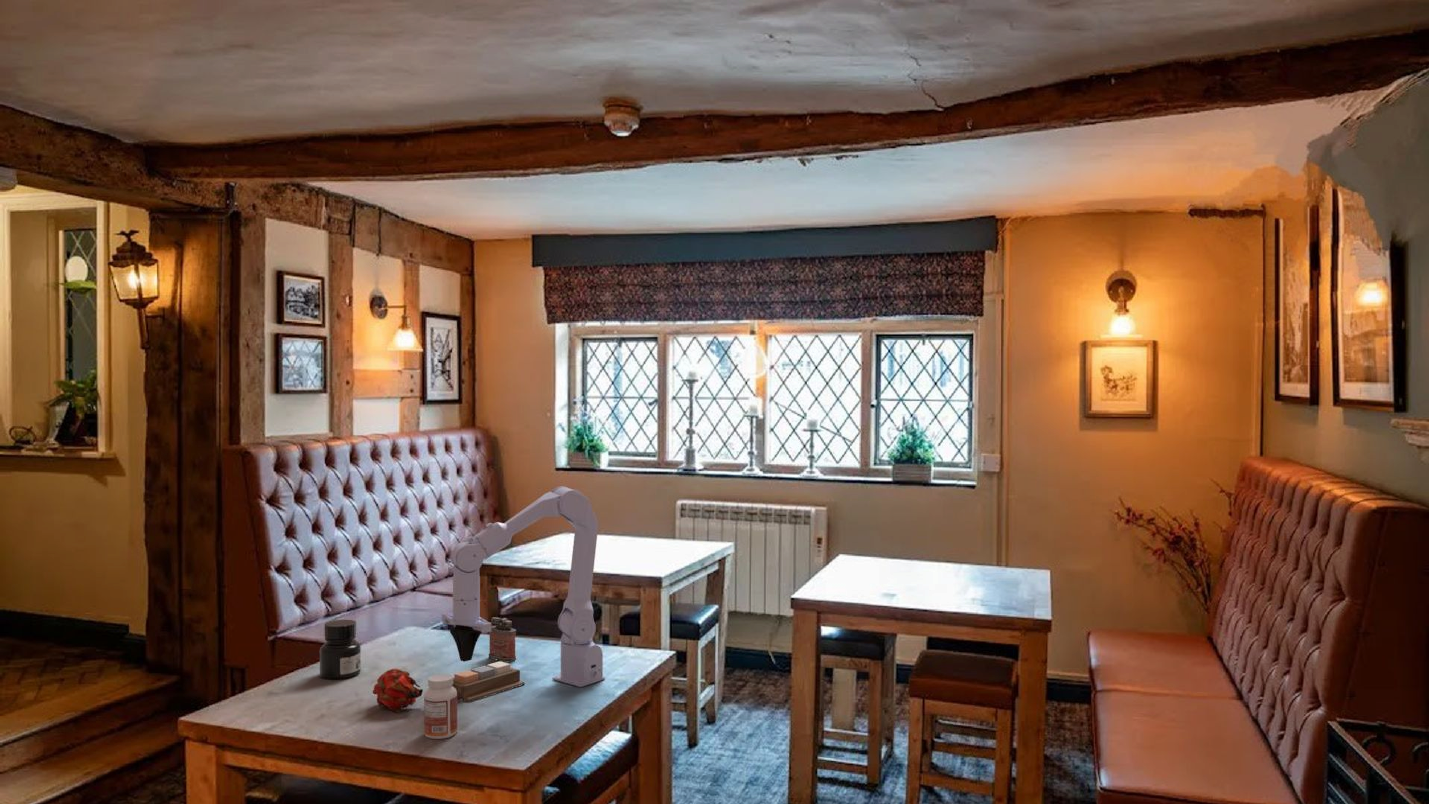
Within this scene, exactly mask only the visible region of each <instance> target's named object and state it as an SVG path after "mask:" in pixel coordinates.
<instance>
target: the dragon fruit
mask: <svg viewBox="0 0 1429 804" xmlns="http://www.w3.org/2000/svg"><path fill="white" fill-rule="evenodd" d="M414 685H415V686H416V687H415V686H414ZM417 687H418V688H417ZM419 688H420V689H419ZM423 690H424V689H423V688H421V687H420V685H419V684H417V680H415V679H414V678H413V677H411V676H410V672H408V671H404V670H401V669H398V668H392V669H389V670H386V671H385V672H384V673H382V674H381V675H380V676H379V677H378V678H377V681H376V683H375V684H374V686H373V690H372V694H373V695H376V702H377V705H378V707H379V708H382V707H385V706H386V707H388V709H390V710H392V711H393V712H404V709H402V707H403V706H404V707H405V706H409V705H410V706H412V707H413V705H414V704H415V703H416V699H417V698H419V697H421V696H422V695H423Z"/></svg>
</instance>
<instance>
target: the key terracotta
mask: <svg viewBox="0 0 1429 804" xmlns="http://www.w3.org/2000/svg"><path fill="white" fill-rule="evenodd" d="M453 678H454V681H455V682H458V683H461V684H465V685H466V684H469V683H473V682H476V681H478V673H475V672H472V671H471V670H468V669H467V670H464V671H461V672H456V673H454V676H453Z"/></svg>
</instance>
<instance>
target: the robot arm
mask: <svg viewBox="0 0 1429 804" xmlns="http://www.w3.org/2000/svg"><path fill="white" fill-rule="evenodd" d="M560 516H562V517H563V518H564V519H565V520H566V521H567V522H568V523H569V524H570V525H571V526H572V527H573V528H574V536H573V544H572V545H573V546H572V555H571V563H570V572H569V573H570V574H569V583H568V592H567V596H566V599H565V600H564V601H563V606H562V611H561V612H560V614H559V615H558V618H557V625H558V626H557V627H558V628H559V630H560V631H561V632H562V635H561V637H560V674H558V675H555V676H553V677H551V678H552V680H554V681H558V682H561V683H565V684H569V685H572V686H576V687H578V688H581V687H582V688H583V687H585V686H587V685H591V684H594V683H598V682H600V681H603V680H605V679H606V677H605V676H604V675H603V672H604V671H603V668H604V667H603V666H604V665H603V664H604V663H603V660H604V659H603V657H604V655H603V650H602V647H600V646H599V645H597V644H596V643H595V642H594V640H593V638H594V636H595V634H596V631H597V630H596V628H597V626H596V623H595V620H594V607H593V604H592V601H591V597H592V587H593V586H592V585H593V578H594V569H595V559H596V550H597V549H596V548H597V540H598V530H599V521H598V519H597V517H596V514H595V512H594V510H593V507H592V505H591V500H590V499H589V498H588V497H587V496H585V494H584V493H583V492H581V491H579V490H576V489H571V488H569V487H567V486H564V485H563V486H556V487H555V488H554V489H552V491H548V492H546V493H544V494H543V495H542V496H540V497H539V498H538V499H536V500H535V501H533V502H532V503H531V504H529V505H528V506H527V507H525V508H523V509H522V510H521V511H519V512H518V513H517V514H515V515H514V516H513V517H511V518H509V519H508V520H507V521H505V522H504V523H503V522H498V521H496V522H494V523H491V522H489V523H487V524H486V525H485V529H483V530H481V531H480V532H478V533H477V534H475V535H474V536H471V535H470V536H469V537H467V538H466V539H467V541H465V542H464V541H462V542H459V543H457V544H456V545H455V546H454V547H453V549H452V550H451V554H450V555H449V557H450V561H451V563H452V565H454V566H453V571H452V573H453V577H452V612H446V613H445V612H444V613H442V614H441V622H442V623H443V624H447V623H448V624H449V625H451V626H454V627H452V628H450V629H449V633H450V634H451V636H452V638H453V640H454V642H455V644H456V645H455V646H456V648H457V652H458V655H459V660H460V661H461V662H469V661H471V660H472V659H473V656H474V652H475V648H476V644H477V642H478V640H479V638H480V636H481V634H487V633H490V632H491V626H492V623H491V622H489V621H488V620H486V619H484V618H483V617H481V616H480V615H481V613H480V612H481V603H480V602H481V597H480V596H481V576H480V569H481V567H482V565H483V563H484V560H487V559H489V558H490V557H492V556H493V555H495V554H497V553H498V552H500V551H501V550H502V549H504V548H506V547H507V546H509V545H510V544H511V542H512V538H513V536H514V535H516V534H517V533H519V532H521V531H523V530H525V529H526V528H528V527H529V526H531V525H533V524H534V523H536V522H537V521H539V520H541V519H542V518H548V517H549V518H558V517H560Z"/></svg>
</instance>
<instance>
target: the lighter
mask: <svg viewBox="0 0 1429 804" xmlns="http://www.w3.org/2000/svg"><path fill="white" fill-rule="evenodd" d="M490 623H491V624H495V625H491V632H489V653H488V658H489V659H490V658H493V659H497V660H500V661H501V662H503V661H514V662H516V661H517V656H516V634H517V629H516V628H512V626H513V625H512V623H513V622H512V620H509V619H508V618H506V617H503V618H501V617H497V616H495V617H492V618H491V622H490ZM493 659H492V660H493ZM497 660H496V661H497ZM515 660H516V661H515Z"/></svg>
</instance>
